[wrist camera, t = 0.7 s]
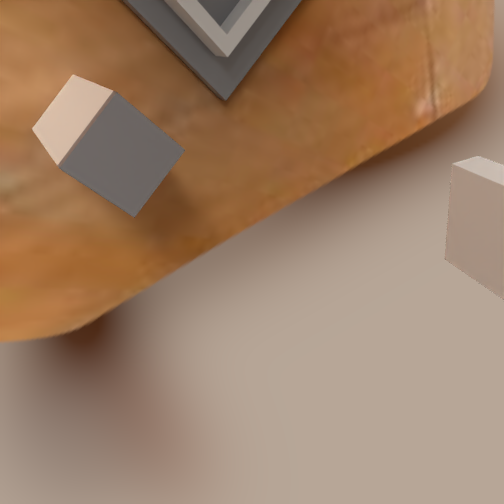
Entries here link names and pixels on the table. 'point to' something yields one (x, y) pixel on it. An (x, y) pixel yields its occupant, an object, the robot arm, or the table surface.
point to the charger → (106, 143)
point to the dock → (215, 34)
